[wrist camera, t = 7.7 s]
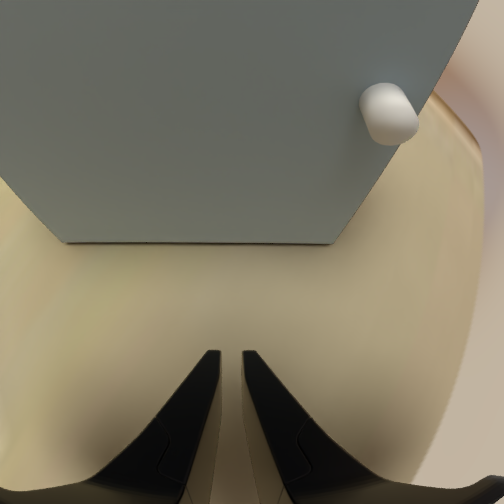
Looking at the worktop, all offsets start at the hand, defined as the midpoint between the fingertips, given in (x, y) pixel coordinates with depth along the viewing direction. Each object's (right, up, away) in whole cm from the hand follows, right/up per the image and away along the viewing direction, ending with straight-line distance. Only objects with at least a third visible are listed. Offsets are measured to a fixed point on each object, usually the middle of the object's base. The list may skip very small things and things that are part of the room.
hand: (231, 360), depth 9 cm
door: (-3, +4, +8) cm, 10 cm away
